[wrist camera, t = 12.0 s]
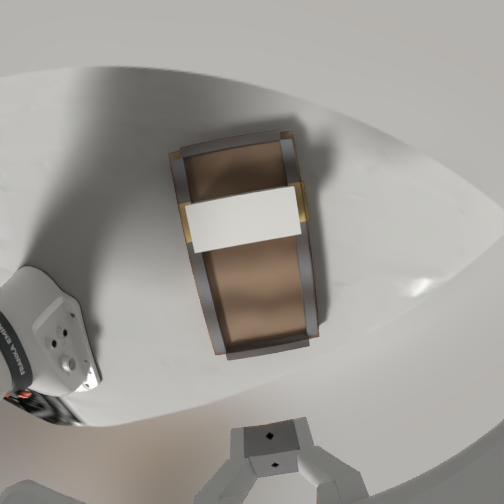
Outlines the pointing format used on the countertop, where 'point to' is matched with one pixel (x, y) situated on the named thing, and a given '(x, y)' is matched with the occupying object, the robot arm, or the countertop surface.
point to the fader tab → (243, 218)
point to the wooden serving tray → (250, 248)
